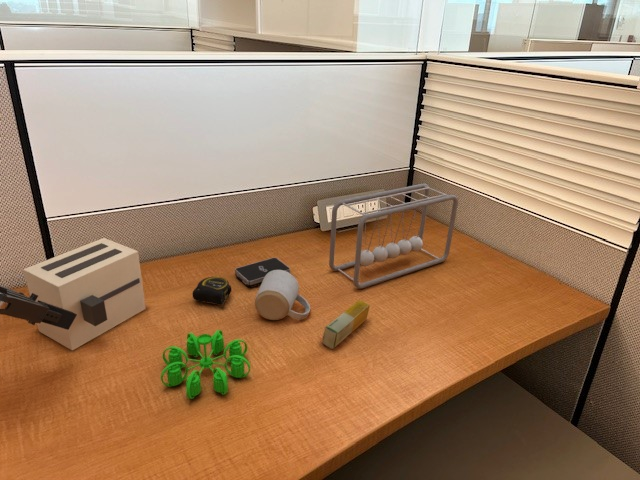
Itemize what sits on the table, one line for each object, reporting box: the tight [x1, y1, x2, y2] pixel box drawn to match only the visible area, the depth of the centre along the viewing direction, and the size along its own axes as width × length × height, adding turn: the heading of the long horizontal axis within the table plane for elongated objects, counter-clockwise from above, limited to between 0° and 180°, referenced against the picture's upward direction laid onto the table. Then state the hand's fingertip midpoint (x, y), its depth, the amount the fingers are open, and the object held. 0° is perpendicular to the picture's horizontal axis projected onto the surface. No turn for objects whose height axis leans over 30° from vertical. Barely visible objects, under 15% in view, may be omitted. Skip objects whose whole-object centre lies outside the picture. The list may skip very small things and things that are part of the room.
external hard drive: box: [234, 257, 291, 288], centre depth 109 cm, size 7×11×2 cm, turn 126°
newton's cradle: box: [328, 183, 459, 290], centre depth 113 cm, size 30×10×18 cm, turn 124°
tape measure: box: [192, 276, 232, 306], centre depth 100 cm, size 7×7×4 cm
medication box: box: [321, 299, 371, 350], centre depth 91 cm, size 12×3×4 cm, turn 144°
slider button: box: [80, 295, 107, 326], centre depth 83 cm, size 3×2×4 cm
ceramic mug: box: [254, 270, 311, 321], centre depth 95 cm, size 11×8×8 cm
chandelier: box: [160, 329, 251, 400], centre depth 79 cm, size 15×15×7 cm
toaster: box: [23, 237, 146, 351], centre depth 89 cm, size 10×16×13 cm, turn 149°
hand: (69, 320), depth 78 cm, fingers closed
